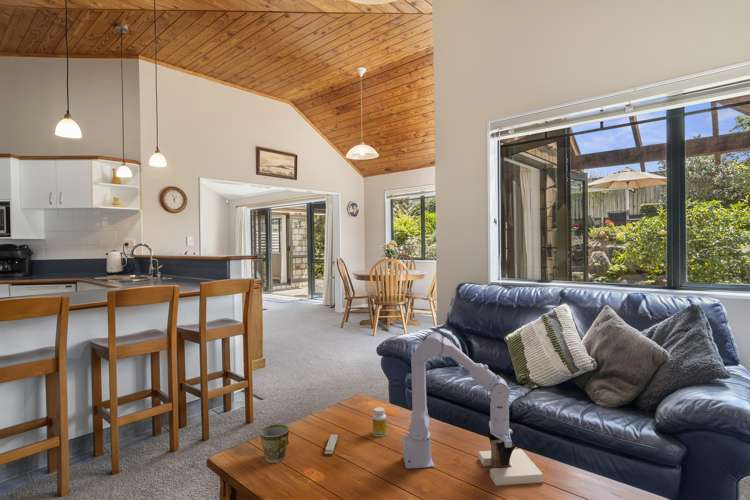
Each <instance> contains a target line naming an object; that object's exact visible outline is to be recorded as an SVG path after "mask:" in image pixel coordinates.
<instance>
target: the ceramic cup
mask: <svg viewBox="0 0 750 500" xmlns="http://www.w3.org/2000/svg"><path fill="white" fill-rule="evenodd" d="M289 434H290V427H289V425H287V424H284V423H273V424H268V425H265V426H264V427H262V428H261V429H260V431H259V436H260V441H261V445H262V449H263V450H262V451H263V455H264V460H265V461H266V462H267V463H269V464H271V463H272V464H273V463H274V464H275V463H277V462H278V463H280V462H282V461H284V460H285V457H286V453H287V452H286V451H287V447H288V446H289V444H290V441H289Z"/></svg>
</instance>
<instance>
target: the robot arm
mask: <svg viewBox="0 0 750 500" xmlns="http://www.w3.org/2000/svg"><path fill="white" fill-rule="evenodd" d="M439 355H440V357H441V358H447V357H448V358H451V359H453V360H454V361H455V362H456V363H457V364H459V365H461V366H462V367H463V368H464V369H466V370H467V371H468V372H469V376H470V378H471V379H472V380H474V382H476V383H477V384H478V385H480V386H481V387H482V388H483V389H484V390H486V391H488V392H489V394H490V402H489V403H490V411H489V412H490V420H489V421H488V428H489V429H486V430H485V432H486V434H487V436H488V439H489V442H490V444H491V440H502V442H501V443H496V445H497V448H498V450H499V454H500V461H501V465H502V466H504V465H508V464H509V461H510V457H511V454H512V452H513V450H514V449H516V445H515V443H514V442H513V441H512V438H511V434H513V430H512V429H511V428H510V413H509V412H510V405H509V398H510V395H511V393H510V389H509V386H508V383H507V381H506V380H505V379H504V377H501V376H500V375H499V374H496V373H494V372H493V371H492V370H490V369H489V366H488V365H487V364H486V363H485V364H483V363H481V362H480V363H479V362H478V363H477V362H474V360H472V359H471V358H470V357H469V356H468V355H467V354H465V353H464V352H463V351H462V350H461V349H460V348H458V347H457V346H456V345H455V344H454V343H453V342H452V341H451V340H449V339H448V337H445V336H443V335H442V334H441V333H440V332H439V331H431V332H429V333H427V334H426V335H425V336H424V337H423V338H422V340H421V341H420V342H419V343H418V346H417V347H416V348H415V350H414V351H413V353H412V355H411V358H410V360H411V362H410V363H411V368H410V369H411V398H412V399H411V401H412V402H411V405H412V409H411V411H412V412H411V422H410V424H409V427H408V434H407V435H404V436H402V449H403V450H402V459H403V462H404V466H405V468H406V469H421V468H422V469H423V468H434V467H435V463H434V461H433V459H432V442H431V441H432V440H431V439H432V435H431V432H430V430H429V427H430V425H431V417H430V415H429V413H428V406H427V377H426V376H427V373H426V372H427V371H426V369H427V368H426V363H427V362H428V361H429V360H430V359H432V358H435V357H437V356H439Z"/></svg>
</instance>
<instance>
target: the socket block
mask: <svg viewBox="0 0 750 500" xmlns="http://www.w3.org/2000/svg"><path fill="white" fill-rule="evenodd" d="M478 459H479V461H480V462H481V464H482V466H483V467H491V450H480V451H478ZM489 477H490V478H491V480H492V481H493V483H494V485H495V486H509V485H522V484H523V485H524V484H537V483H544V473H543V472H542V471H541V470H540V469H539V468H538V467H537V465H536V464H535V463H534V461H532V459H531V458H530V457H529V456H528V455H527V454H526V453H525V451H524V450H523V449H522V448H517V449H516V448H515V449H514V450H513V452H512V454H511V457H510V467H509V468H493V469H492V468H490V469H489Z"/></svg>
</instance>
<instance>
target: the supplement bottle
mask: <svg viewBox="0 0 750 500" xmlns="http://www.w3.org/2000/svg"><path fill="white" fill-rule="evenodd" d="M373 412H374V414H373V415H372V435H373V436H374V437H377V438H378V437H379V438H380V437H385V436H386V435H387V433H388V431H387V414H385V408H384V407H380V406H379V407H374V411H373Z"/></svg>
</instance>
